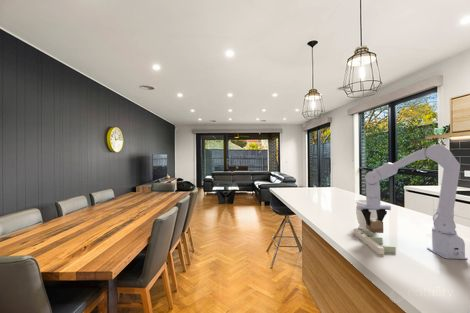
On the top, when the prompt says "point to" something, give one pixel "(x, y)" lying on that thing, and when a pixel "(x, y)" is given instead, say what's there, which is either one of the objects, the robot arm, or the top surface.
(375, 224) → the cardboard box
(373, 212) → the jar
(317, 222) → the top surface
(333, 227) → the top surface
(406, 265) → the top surface
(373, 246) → the rack
